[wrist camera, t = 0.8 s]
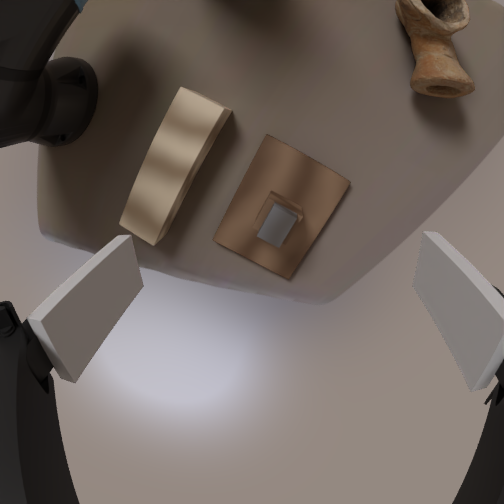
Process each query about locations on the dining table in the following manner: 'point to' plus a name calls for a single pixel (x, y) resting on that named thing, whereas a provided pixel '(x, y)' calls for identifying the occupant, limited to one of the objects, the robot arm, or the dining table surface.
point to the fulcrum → (280, 207)
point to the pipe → (436, 45)
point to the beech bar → (172, 163)
